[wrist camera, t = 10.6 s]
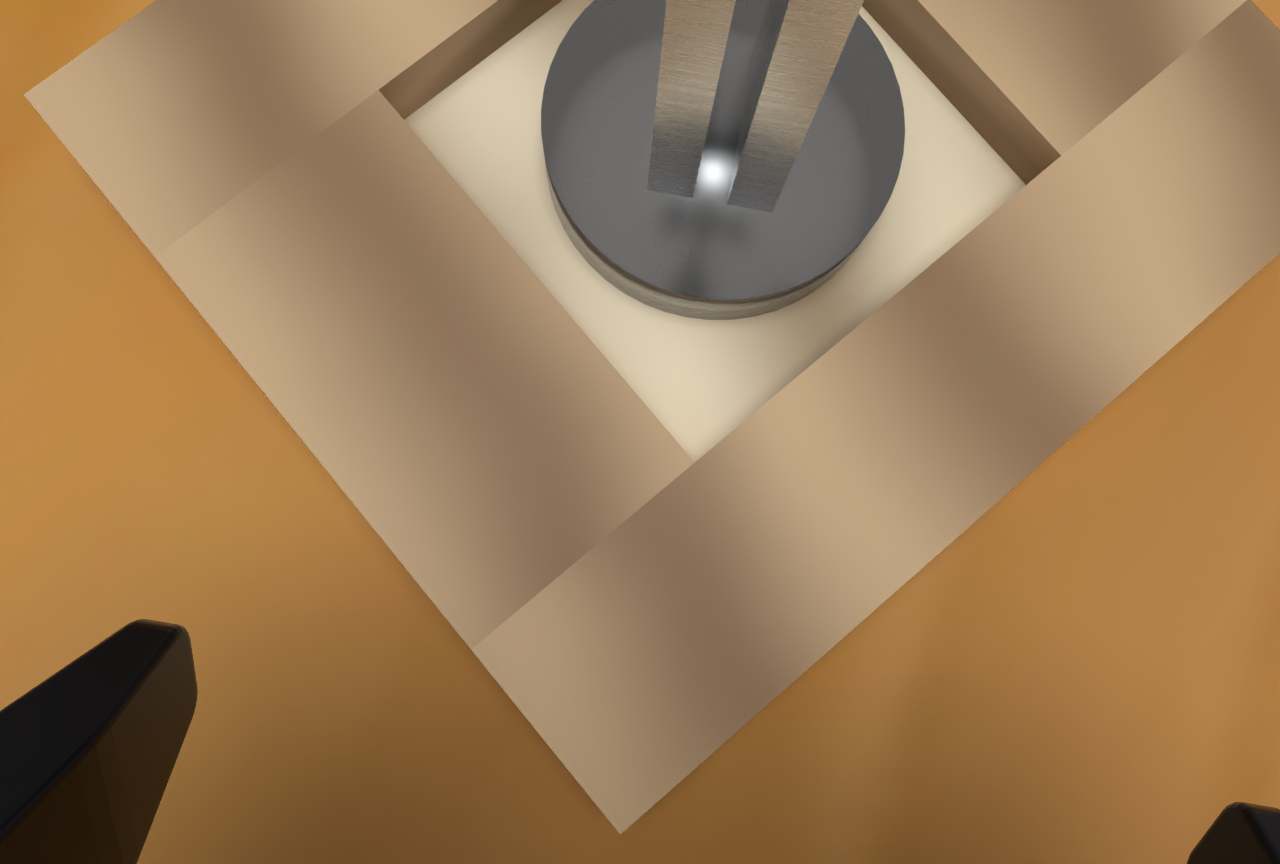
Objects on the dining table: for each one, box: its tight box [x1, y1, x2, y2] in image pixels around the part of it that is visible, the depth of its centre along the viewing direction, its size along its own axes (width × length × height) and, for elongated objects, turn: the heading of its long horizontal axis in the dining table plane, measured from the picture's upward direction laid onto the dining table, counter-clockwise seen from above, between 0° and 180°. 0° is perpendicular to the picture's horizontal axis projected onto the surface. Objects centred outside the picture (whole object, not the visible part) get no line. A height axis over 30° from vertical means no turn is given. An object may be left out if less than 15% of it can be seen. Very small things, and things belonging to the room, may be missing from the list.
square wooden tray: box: [24, 0, 1280, 834], centre depth 20 cm, size 18×16×2 cm
